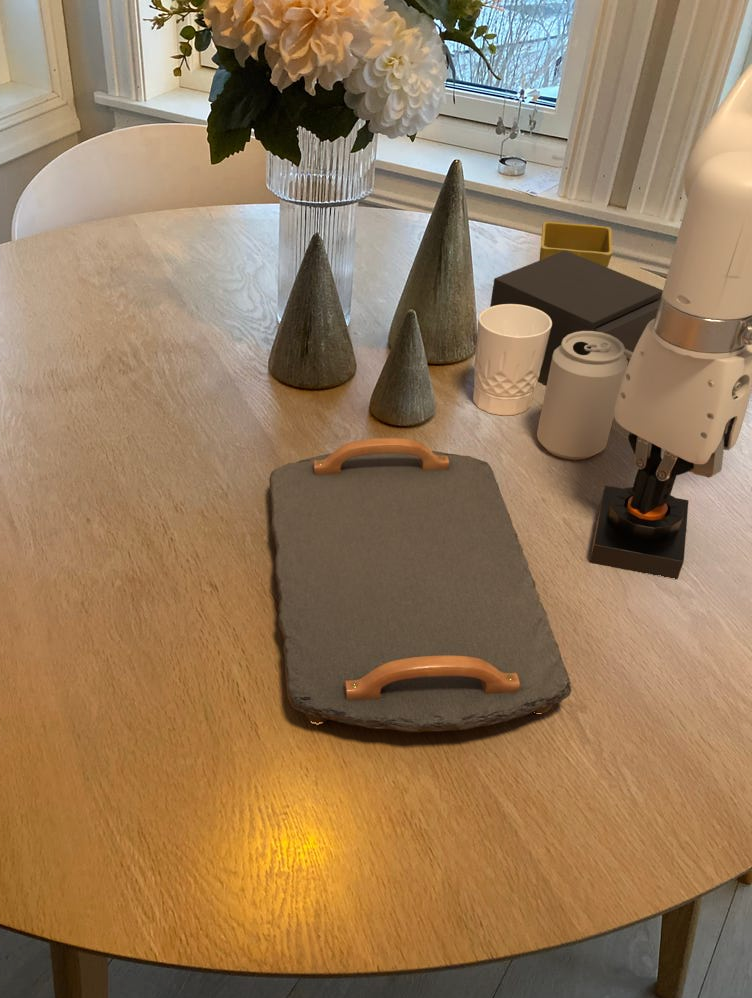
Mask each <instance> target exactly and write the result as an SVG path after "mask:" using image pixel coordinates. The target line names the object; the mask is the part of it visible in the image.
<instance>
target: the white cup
mask: <svg viewBox="0 0 752 998" xmlns="http://www.w3.org/2000/svg"><path fill="white" fill-rule="evenodd" d="M551 327H552V320H551V318H550V317H549V316H548V315H547V314H546V313H544V312H543V311H541V310H539V309H536V308H533V307H530V306H525V305H519V304H502V305H496V306H492V307H490V306H489V307H487V308H485V309H483V310H482V311H481V312H480V313H479V316H478V321H477V333H476V343H475V355H474V367H473V368H474V371H473V379H474V381H473V392H472V393H473V395H472V402H473V403H474V404H475V406H477V408H478V409H480V410H482V411H484V412H486V413H487V414H492V415H496V416H497V415H498V416H516V415H519V414H522V413H525V412H526V411H527V410H528V409H529V408H530V407H531V406H532V403H533V399H534V395H535V390H536V386H537V384H538V382H539V381H538V379H539V375H540V370H541V367H542V364H543V360H544V356H545V351H546V347H547V343H548V339H549V335H550V331H551Z"/></svg>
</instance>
